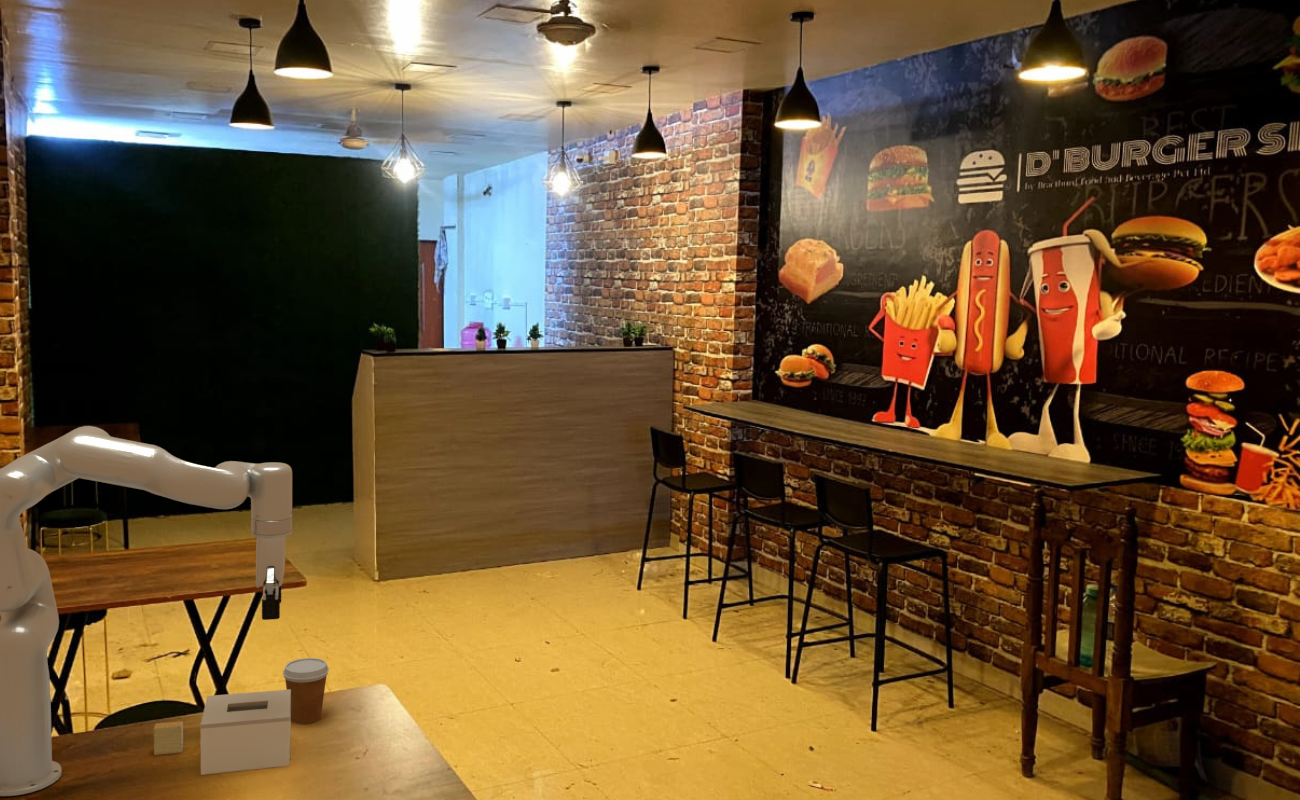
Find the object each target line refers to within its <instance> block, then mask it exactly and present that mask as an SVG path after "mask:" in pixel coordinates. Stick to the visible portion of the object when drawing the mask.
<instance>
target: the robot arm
mask: <svg viewBox="0 0 1300 800" xmlns="http://www.w3.org/2000/svg"><path fill="white" fill-rule="evenodd" d="M292 469H293V468H292V467H291V466H290V465H289V464H287V463H284V462H276V461H275V462H272V461H271V462H262V463H261V462H260V463H253V462H246V461H245V462H244V461H235V460H234V461H233V460H229V461H224V462H221V463H219V464H217V465H216V466H215V467H211V466H206V465H201V464H197V463H193V462H190V461H186V460H183V459H181V458H179V457H176V456H174V455H172V454H171V453H170V452H168V451H167V450H166V449H164V448H162V447H160V446H158V445H155V444H149V443H144V442H138V441H135V440H128V439H124V438H119V437H114V436H111V435H110V434H109V433H108V432H107V431H105V430H104V429H102V428H100V427H98V426H92V425H83V426H79V427H77V428H75V429H73V430H70V431H69V432H67V433H65V434H64V435H61V436H60V437H58V438H57V439H54V440H52V441H50V442H48V443H46V444H44V445H42V446H40V447H38V448H36V449H34V450H32V451H30V452H28V453H26V454H24V455H22V456H20V457H17V458H16V459H15V460H13V461H12V462H9V463H8V464H6V465H5V466H3V467H1V469H0V797H13V796H14V797H15V796H21V795H26V794H30V793H35V792H36V791H40V790H43V789H45V788H47V787H49V786H52V784H54V783H56V781H58V780H59V779H60V777H61V776H62V773H63V772H62V766H61V763H59V762H57V761H55V760H53V755H52V753H53V752H52V747H53V746H52V712H51V711H52V709H51V708H52V707H51V706H52V705H51V701H52V700H51V683H50V682H51V681H50V679H51V678H50V670H49V665H48V651H49V647H50V646H51V645H52V644H51V643H52V642H53V640H54V638H55V637H56V635H57V633H58V631H59V626H60V625H59V624H60V619H59V617H60V616H59V612H58V605H57V602H56V597H55V591H54V586H53V583H52V578H51V573H50V569H49V567H48V564H47V562H46V560H45V559H44V557H43V556H42V555H41V554H39V553H38V552H37V551H36V550H33V549H31V548H28V547H27V542H26V535H25V532H24V528H23V526H22V524H21V521H20V520H21V519H20V517H21V514H23V512H25V511H26V510H28V509H29V508H32V507H33V506H35V505H36V504H38V503H39V502H40V501H42V500H43V499H44V498H45V497H46V496H48V495H50V494H51V493H52V492H54V491H56V490H59V489H60V488H62V487H64V486H67V485H68V484H70V483H72V482H74V481H75V480H78V479H82V480H89V481H93V482H101V483H104V484H105V483H106V484H110V485H115V486H121V487H126V488H132V489H138V490H141V491H142V490H143V491H146V492H149V493H151V494H153V495H157V496H161V497H164V498H167V499H169V500H170V499H171V500H173V501H177V502H181V503H184V504H188V505H195V506H200V507H205V508H210V509H211V508H212V509H217V510H229V509H230V510H231V509H233V508H236V507H238V506H240V505H241V504H243V503H244V502H245V500H246V499H247V497H249V498H250V503H251V504H250V519H251V520H250V527H251V528H250V530H251V531H250V533H251V536H252V537H254V538H256V542H255V543H256V546H255V547H256V548H255V587H256V588H258V589H260V587H263V588H262V591H263V592H262V599H261V619H262V620H263V621H266V620H267V621H269V620H278V619H280V617H281V615H280V612H281V607H280V606H281V604H282V585H283V581H284V575H285V569H286V567H285V566H286V548H287V547H286V546H287V545H286V543H287V542H286V540H287V539H286V538H287V536H290V535H291V534H293V470H292Z"/></svg>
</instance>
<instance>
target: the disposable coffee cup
mask: <svg viewBox="0 0 1300 800" xmlns="http://www.w3.org/2000/svg"><path fill="white" fill-rule="evenodd" d="M329 672H330V668H329V666H328V663H327V661H325V660H323V659H321V658H314V657H305V658H299V659H293V660H292V661H289V662H288V663H286V665H285V666H284V669H283V671H282V675H283V677H284V679H285V688H286V690H289V689H291V723H293V724H296V725H307V724H309V725H310V724H313V723H316V722H319V720H321V718H322V710H323V703H324V697H325V691H326V683H327V682H326V681H327V675H329Z"/></svg>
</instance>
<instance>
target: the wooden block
mask: <svg viewBox="0 0 1300 800" xmlns="http://www.w3.org/2000/svg"><path fill="white" fill-rule="evenodd" d="M183 749H184V721H181V720H180V721H170V722H161V723H159V722H157V723H155V724H154V727H153V755H154V756H158V755H160V756H161V755H168V754H169V755H170V754H177V753H178V754H179V753H183Z"/></svg>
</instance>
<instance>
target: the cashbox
mask: <svg viewBox="0 0 1300 800" xmlns="http://www.w3.org/2000/svg"><path fill="white" fill-rule="evenodd" d="M291 723H292V721H291V689H289V690H287V689H278V690H267V691H266V690H265V691H255V692H241V693H239V692H238V693H229V694H228V693H227V694H216V695H215V694H213V695H207V696H206V700H205V704H204V709H203V713H202V716H201V720H200V775H210V774H212V775H213V774H222V773H223V774H224V773H233V772H241V771H250V770H251V771H252V770H262V769H270V768H271V769H273V768H281V767H290V760H291V759H290V758H291V757H290V754H291V735H292V734H291V726H292V725H291Z"/></svg>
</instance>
